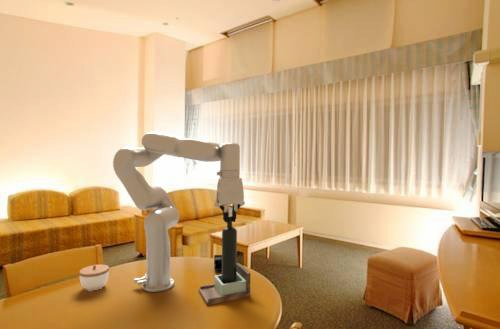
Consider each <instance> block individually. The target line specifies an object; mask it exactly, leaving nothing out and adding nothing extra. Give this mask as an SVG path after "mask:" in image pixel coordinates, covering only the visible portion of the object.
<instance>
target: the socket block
mask: <svg viewBox="0 0 500 329" xmlns="http://www.w3.org/2000/svg"><path fill="white" fill-rule="evenodd" d="M213 276H214V277H213V278H214V280H213V282H214V283H213V284H214V287H215V289H216V290H217V291H218V293H219V294H220V295H221V296H223V295H229V294H234V293H239V292H244V291H245V292H246V280H245V279H244V278H243V277H242V276H241V275H240V274H239V273H238V272H237V277H236V282H232V283H226V284H223V283H222V273H221V274H218V275H217V274H216V275H213Z"/></svg>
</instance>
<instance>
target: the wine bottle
mask: <svg viewBox="0 0 500 329" xmlns="http://www.w3.org/2000/svg"><path fill="white" fill-rule="evenodd" d="M227 212H228V213H229V217H228V223H226V227H224V228H223V229H222V232H221V255H222V272H221V274H222V283H223V284H226V283H232V282H236V277H237V263H238V262H237V259H238V257H237V256H238V255H237V254H238V249H237V248H238V244H237V243H238V230H237V229H236V228H235V227H234V226H233V221H232V206H231V207H230V206H229V207H227Z"/></svg>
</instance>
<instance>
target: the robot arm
mask: <svg viewBox="0 0 500 329" xmlns="http://www.w3.org/2000/svg"><path fill="white" fill-rule="evenodd" d="M141 145H142V147H140V146H139V147H137V146H126V147H122V148H119V149H118V150H117V152H115V154H114V157H113V160H112V166H113V170H114V172H115V175H116V176H117V178H118V180H119V181H120V182H121V184H122V185H123V187H124V188H125V190H126V192H127V193H128V195H129V197H130V198H131V200H132V202H133V204H134V205H135V207H136V208H137V209H138V210H141V211H148V210H151V209H152V210H151V211H149V212H148V213H147V215H146V216H145V217H144V220H143V228H144V234H145V251H146V253H145V255H146V256H145V258H146V259H145V260H146V262H145V264H146V265H145V266H146V267H145V270H146V271H145V274H144V276H142V277H140V278H139V277H137V278H134V282H133V283H134V284H137V285H138V286H139V285H142V286H141V287H142V290H144V291H146V292H148V293H149V292H150V293H151V292H152V293H156V292H164V291H167V290H169V289H171V288H172V287H174V286H175V280H174V279H173V278H172V277H171V239H170V238H171V237H170V234H169V230H170V229H171V228H173V227H175V226H176V225H177V224H178V222H179V220H180V212H179V211H178V209H177V207H176V206H175V204H174V202H173V201H172V199H171V198H170V196H169V194H168V193H167V191H166V190H165V189H163V188H162V187H160V186H158V185H152V186H150V184H149V183H148V182H147V180H146V179H145V177H144V175H143V174H142V173H141V172H140V171H139V170H137V168H141V167H148V166H150V165H151V164H153V163H154V162H155V161H157V160H158V159H160V158H161V157H162V156H164V155H166V156H170V157H177V158H182V159H183V158H184V159H190V160H194V161H199V162H206V163H207V162H208V163H209V162H211V163H213V162H220V163H219V164H220V167H219V168H220V169H219V171H217V172H216V176H219V178H218V179H217V185H216V199H215V202H214V204H213V206H214V207H216V208H219V209H220V210H221V211H222V219H223V221H224V222H225V223H226V224H227V223H228V217H229V213H228V212H227V208H228V205H231V208H232V223H235V222H236V220H237V212H238V210H239V209H240V208H241V207H243V206H245V204H246V202H245V194H244V192H245V191H244V183H243V180H242V179H243V178H242V177H241V176H240V174H241V173H240V171H241V170H240V166H241V164H240V163H241V159H240V158H241V156H240V155H241V154H240V152H241V149H240V148H241V146H240V144H239V143H237V142H223V143H217V142H211V141H204V140H199V139H192V138H186V137H184V136H182V135H178V134H177V135H176V134H170V133H165V132H164V133H163V132H157V131H150V132H146V133H145V134H143V136H142V138H141Z"/></svg>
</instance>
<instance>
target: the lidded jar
mask: <svg viewBox="0 0 500 329" xmlns="http://www.w3.org/2000/svg"><path fill="white" fill-rule="evenodd" d="M109 273H110V267H109V265H107V264H93V265H89V266H85V267H83V268H81V269H80V270H79V272H78V274H79V283H80V285H81V286H82V288H83V289H85V291H87V290H89V291H88V292H92V291H91V290H97V291H99V290H98V289H100V288H101V289H102V287H103V288H104V286H105V285H106V284H107V282H108V280H109V276H110V274H109ZM101 289H100V290H101Z"/></svg>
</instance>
